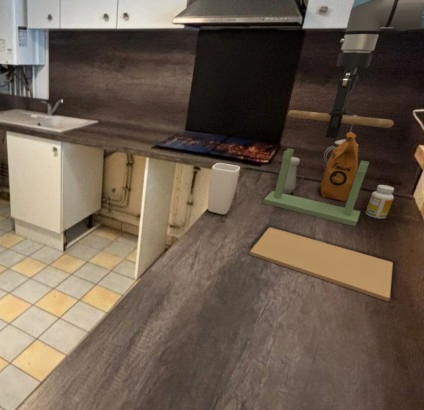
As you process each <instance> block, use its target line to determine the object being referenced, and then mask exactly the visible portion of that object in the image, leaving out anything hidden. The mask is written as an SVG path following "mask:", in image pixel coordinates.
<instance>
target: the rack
mask: <svg viewBox="0 0 424 410" xmlns="http://www.w3.org/2000/svg"><path fill="white" fill-rule="evenodd" d="M294 152H295V149H292V148H287V149H286V150H284V151H283V155H282V161H281V166H280V169H279V174H278V176H277V177H278V178H277V181H276V186H275V189H274V190H271V191H270V192H269V193H268V194H267V195H266V196H265V197H264V198H263V201H262V203H263V204H264V205H269V206H272V207H277V208H281V209H284V210H288V211H292V212H296V213H300V214H305V215H308V216H312V217H316V218H320V219H323V220H324V219H325V220H328V221H332V222H336V223H339V224H343V225H346V226H347V225H348V226H352V227H356V226H357V223H358V221H359V219H360V215H361V210H356V209H354V207H355V205H356V201H357V199H358V196H359V193H360V190H361V187H362V185H363V182H364V179H365V176H366V173H367V170H368V167H369V165H370V161H366V160H360V163H359V164H358V167H357V174H356V177H355V180H354V182H353V185H352V188H351V191H350V194H349V197H348V198H347V200H346V203H345V207H344V206H339V205H335V204H330V203H325V202H322V201H317V200H314V199H308V198H305V197H300V196H295V195H291V194H284V193H283V189H284V185H285V181H286V178H287V174H288V170H289V166H290V162H291V158H290V157H294Z"/></svg>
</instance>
